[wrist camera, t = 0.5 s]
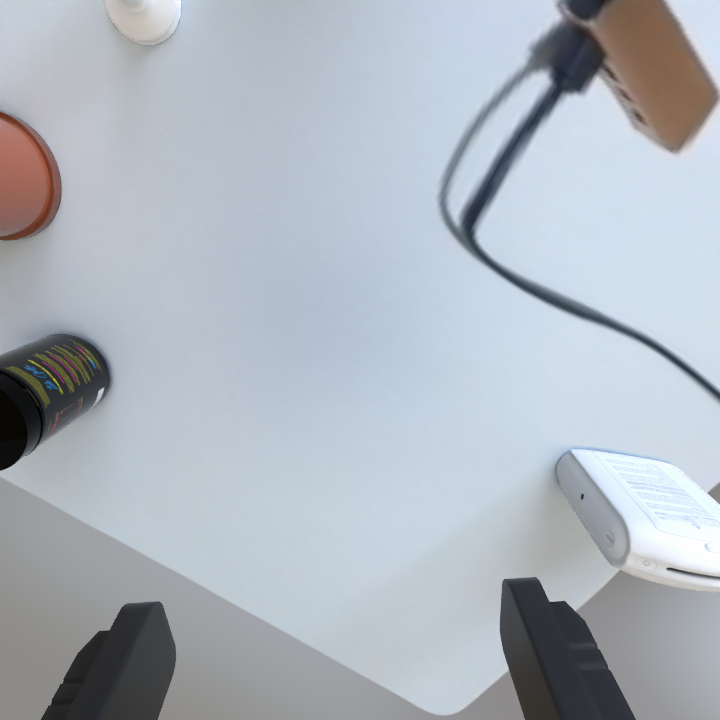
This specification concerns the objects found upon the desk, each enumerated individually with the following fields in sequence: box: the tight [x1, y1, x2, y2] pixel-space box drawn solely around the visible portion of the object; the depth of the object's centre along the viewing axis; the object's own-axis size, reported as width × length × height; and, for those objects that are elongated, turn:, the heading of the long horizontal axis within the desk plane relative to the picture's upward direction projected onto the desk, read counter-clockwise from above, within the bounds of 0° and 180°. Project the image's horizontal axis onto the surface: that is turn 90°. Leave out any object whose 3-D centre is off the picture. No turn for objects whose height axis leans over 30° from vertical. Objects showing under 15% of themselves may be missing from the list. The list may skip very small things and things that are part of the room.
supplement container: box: [0, 334, 110, 471], centre depth 34 cm, size 7×7×10 cm
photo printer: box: [556, 449, 720, 592], centre depth 35 cm, size 10×4×12 cm, turn 81°
